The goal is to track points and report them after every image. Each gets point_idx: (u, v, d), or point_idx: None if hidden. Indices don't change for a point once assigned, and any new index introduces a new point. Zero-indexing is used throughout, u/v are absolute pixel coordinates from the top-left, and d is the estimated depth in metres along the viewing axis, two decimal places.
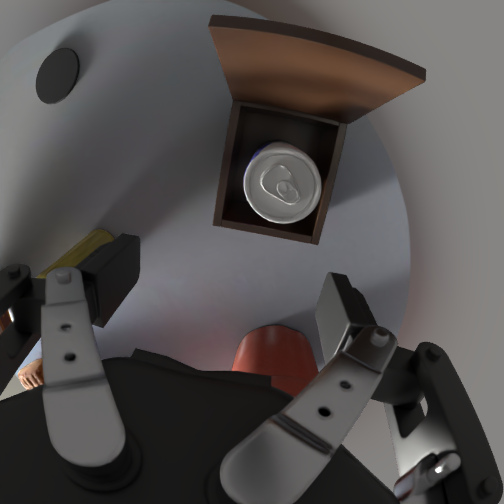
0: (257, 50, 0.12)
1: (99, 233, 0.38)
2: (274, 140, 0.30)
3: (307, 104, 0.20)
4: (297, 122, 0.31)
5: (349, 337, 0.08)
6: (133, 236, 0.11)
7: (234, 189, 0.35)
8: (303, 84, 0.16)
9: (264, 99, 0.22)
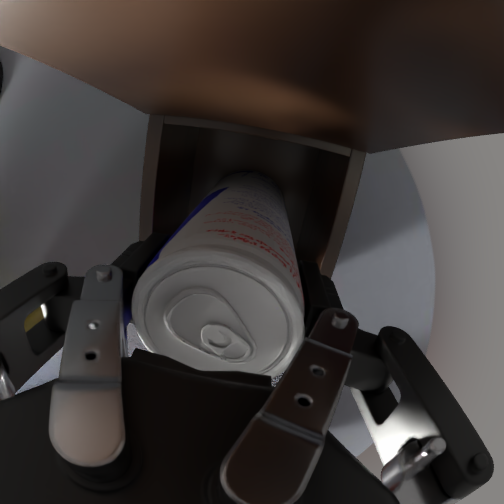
0: None
1: None
2: (240, 173, 0.19)
3: (284, 118, 0.09)
4: (279, 140, 0.20)
5: (312, 320, 0.09)
6: (165, 235, 0.12)
7: None
8: (253, 65, 0.05)
9: (194, 111, 0.10)
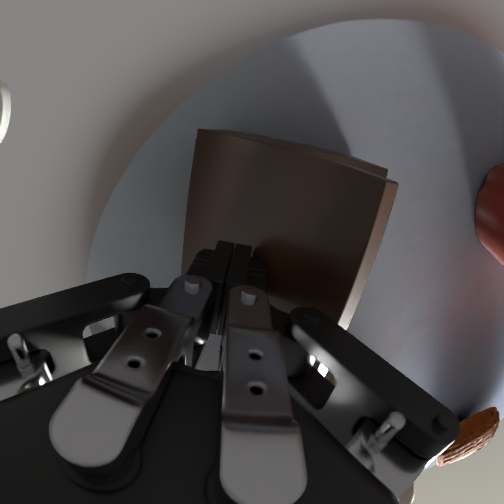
0: None
1: (335, 380, 0.36)
2: None
3: None
4: None
5: (228, 297, 0.09)
6: (231, 243, 0.12)
7: None
8: None
9: None
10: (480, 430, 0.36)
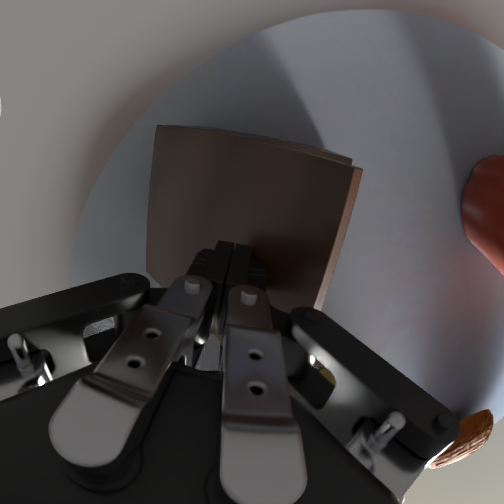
0: None
1: None
2: None
3: None
4: None
5: (228, 297, 0.09)
6: (231, 243, 0.12)
7: None
8: None
9: None
10: (473, 433, 0.36)
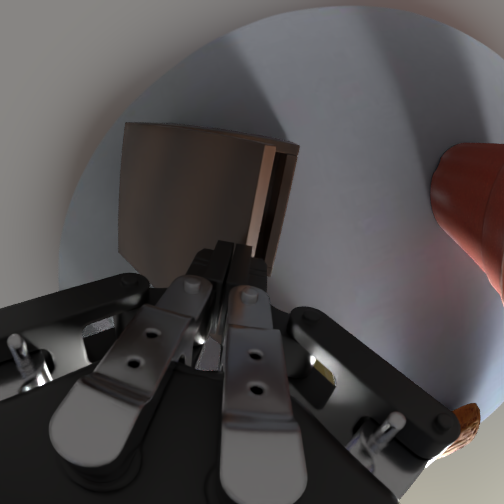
0: None
1: None
2: None
3: None
4: None
5: (228, 297, 0.09)
6: (231, 243, 0.12)
7: None
8: None
9: None
10: None
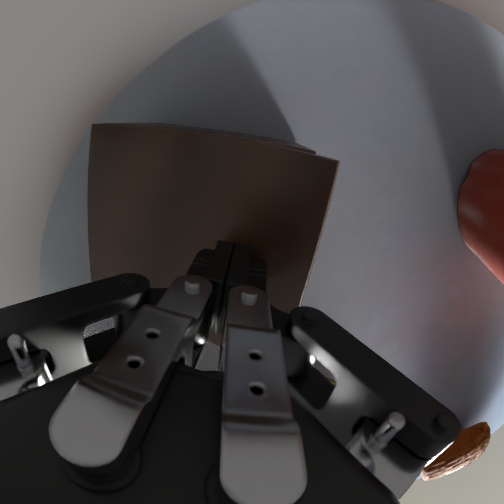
0: None
1: None
2: None
3: None
4: None
5: (228, 297, 0.09)
6: (231, 243, 0.12)
7: None
8: None
9: None
10: (469, 446, 0.33)
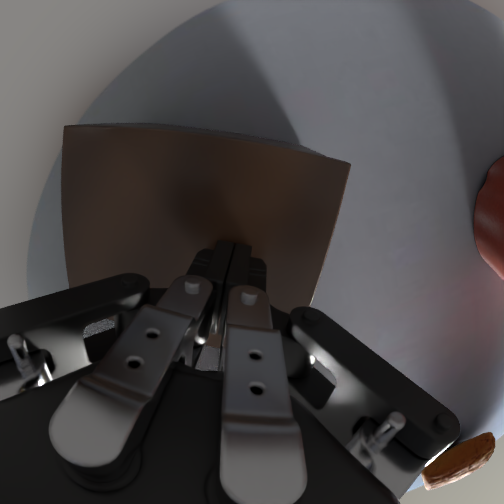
0: None
1: None
2: None
3: None
4: None
5: (228, 297, 0.09)
6: (231, 243, 0.12)
7: None
8: None
9: None
10: (473, 457, 0.30)
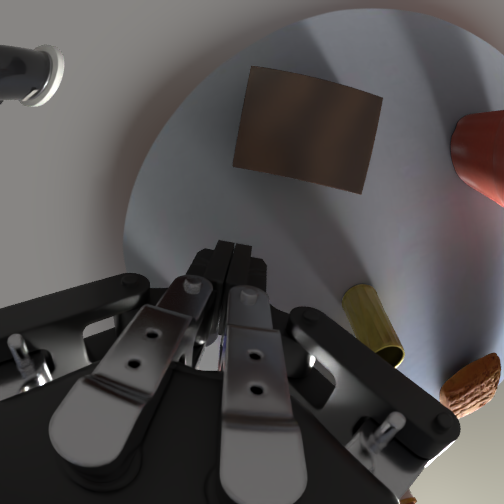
0: None
1: (345, 300, 0.43)
2: None
3: None
4: None
5: (228, 297, 0.09)
6: (231, 243, 0.12)
7: None
8: None
9: None
10: (484, 374, 0.43)
